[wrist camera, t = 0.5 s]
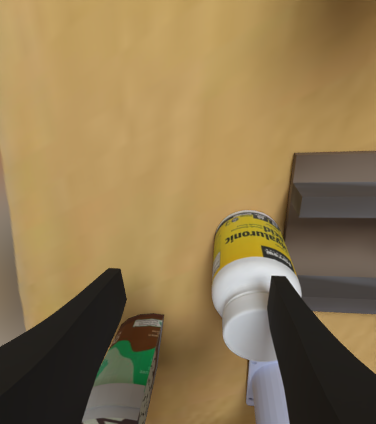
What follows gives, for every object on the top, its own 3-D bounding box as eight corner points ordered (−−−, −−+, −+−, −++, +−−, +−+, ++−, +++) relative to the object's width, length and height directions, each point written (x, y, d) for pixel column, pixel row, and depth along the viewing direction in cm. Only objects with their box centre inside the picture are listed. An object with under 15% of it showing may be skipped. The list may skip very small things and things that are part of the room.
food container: (107, 293, 27) (52, 398, 18) (165, 304, 27) (137, 416, 18) (108, 364, 33) (67, 469, 24) (156, 374, 33) (132, 484, 24)
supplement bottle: (288, 212, 21) (335, 311, 12) (270, 266, 23) (299, 379, 14) (219, 202, 21) (218, 292, 12) (210, 256, 23) (202, 362, 15)
